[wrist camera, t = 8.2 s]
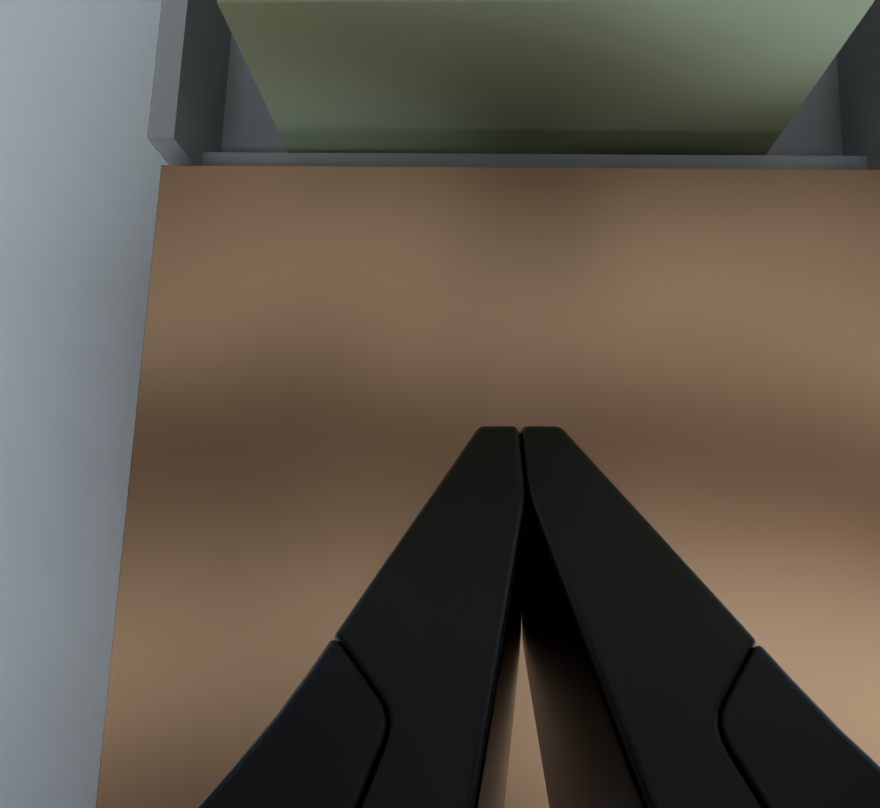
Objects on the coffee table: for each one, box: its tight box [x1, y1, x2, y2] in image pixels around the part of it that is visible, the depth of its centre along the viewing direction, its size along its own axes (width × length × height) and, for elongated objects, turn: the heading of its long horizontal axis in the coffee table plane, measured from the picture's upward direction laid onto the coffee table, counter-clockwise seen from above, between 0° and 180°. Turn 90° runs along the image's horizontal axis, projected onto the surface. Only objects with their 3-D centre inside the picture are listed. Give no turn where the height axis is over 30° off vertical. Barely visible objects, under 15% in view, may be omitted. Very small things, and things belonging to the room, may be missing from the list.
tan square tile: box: [96, 165, 880, 808], centre depth 15 cm, size 12×14×2 cm
